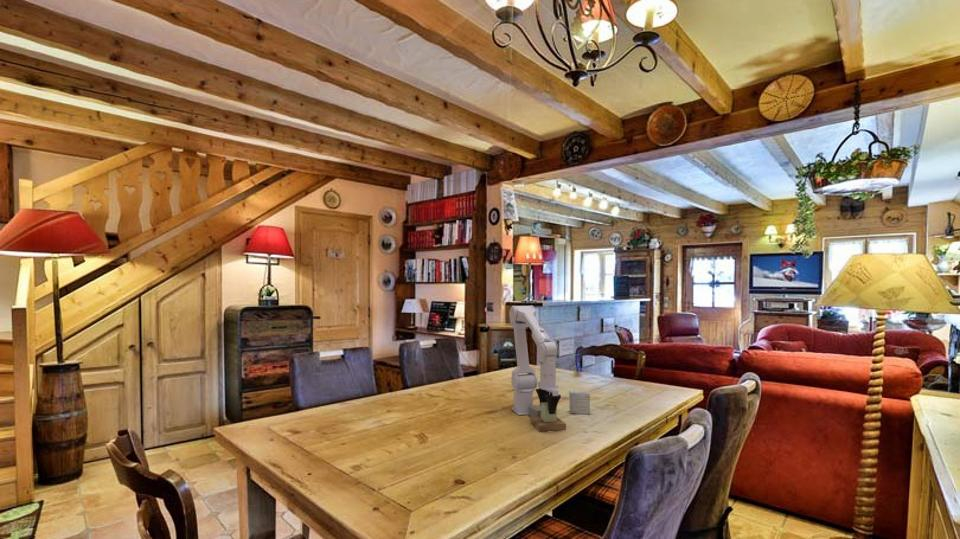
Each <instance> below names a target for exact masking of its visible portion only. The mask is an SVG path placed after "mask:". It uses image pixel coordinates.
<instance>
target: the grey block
mask: <svg viewBox="0 0 960 539" xmlns="http://www.w3.org/2000/svg"><path fill="white" fill-rule="evenodd" d="M528 417H530V418H531V417H541V406H540V404H539V405H533V406H529V414H528Z"/></svg>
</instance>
